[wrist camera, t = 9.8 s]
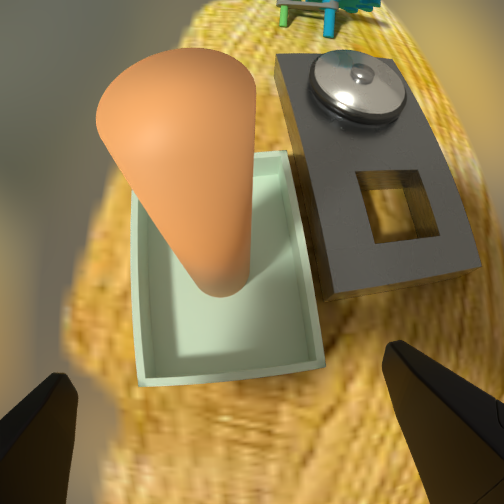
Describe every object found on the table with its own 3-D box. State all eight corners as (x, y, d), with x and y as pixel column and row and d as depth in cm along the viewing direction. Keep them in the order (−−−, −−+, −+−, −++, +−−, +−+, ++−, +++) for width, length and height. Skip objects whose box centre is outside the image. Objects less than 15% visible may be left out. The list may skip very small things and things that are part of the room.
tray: (315, 365, 17) (326, 367, 14) (152, 383, 16) (138, 386, 14) (282, 172, 21) (286, 150, 18) (144, 189, 20) (133, 169, 18)
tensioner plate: (460, 276, 18) (502, 255, 14) (323, 302, 18) (346, 283, 14) (384, 79, 24) (399, 41, 20) (273, 76, 24) (277, 32, 19)
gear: (376, 8, 26) (387, -24, 18) (373, 53, 29) (386, 33, 20) (279, -3, 28) (259, -35, 20) (275, 41, 31) (254, 19, 22)
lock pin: (253, 294, 18) (267, 150, 5) (194, 300, 17) (85, 175, 5) (246, 238, 19) (246, 41, 6) (190, 244, 18) (108, 62, 6)
